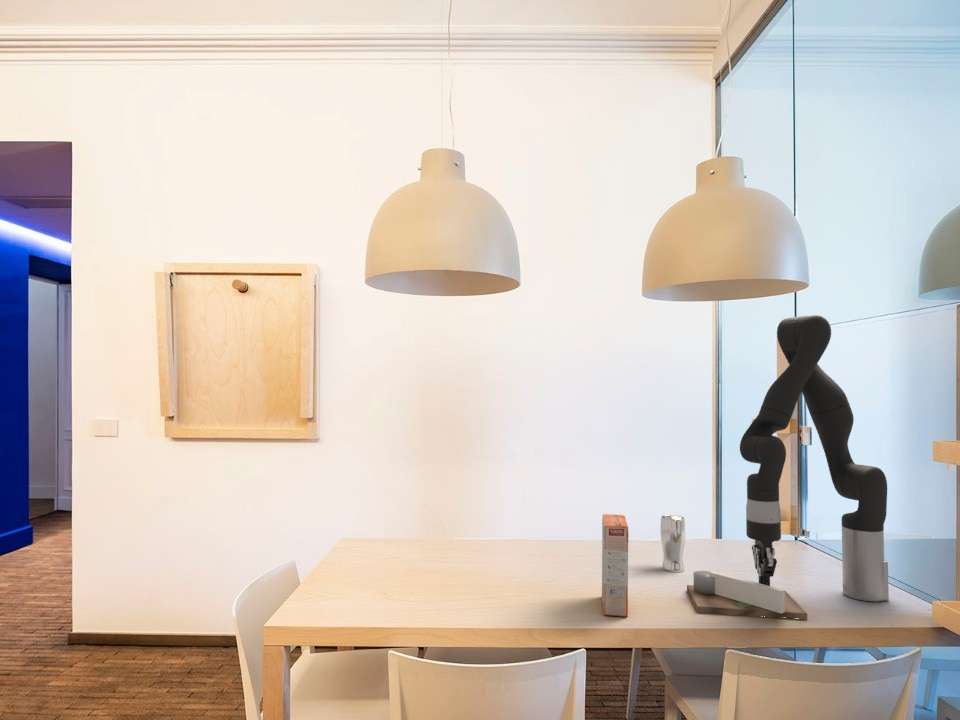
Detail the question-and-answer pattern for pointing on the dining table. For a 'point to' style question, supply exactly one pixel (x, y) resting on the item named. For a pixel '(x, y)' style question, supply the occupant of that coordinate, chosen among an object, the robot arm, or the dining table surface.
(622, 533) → the cracker box
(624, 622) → the dining table surface
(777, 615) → the brown wooden board
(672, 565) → the beer glass
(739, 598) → the lever handle
